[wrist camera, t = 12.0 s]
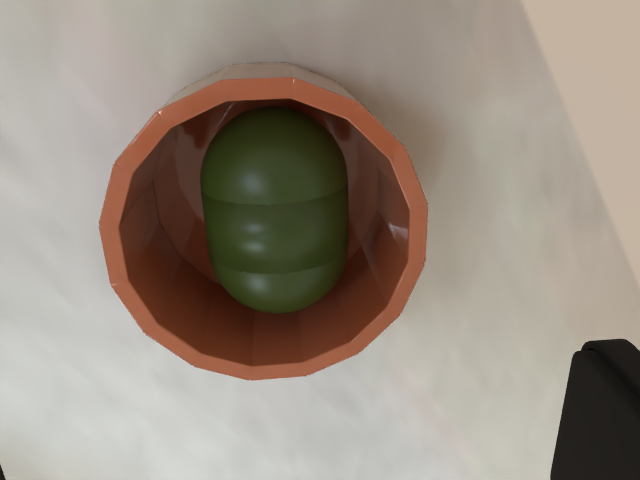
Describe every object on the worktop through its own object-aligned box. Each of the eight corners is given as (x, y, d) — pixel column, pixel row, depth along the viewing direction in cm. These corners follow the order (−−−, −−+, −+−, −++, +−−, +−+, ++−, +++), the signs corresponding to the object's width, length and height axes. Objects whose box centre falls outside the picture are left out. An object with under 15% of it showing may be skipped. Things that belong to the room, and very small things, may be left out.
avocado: (192, 100, 20) (189, 125, 16) (328, 92, 21) (366, 113, 16) (213, 283, 23) (217, 350, 18) (332, 269, 24) (365, 330, 19)
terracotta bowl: (123, 67, 20) (69, 86, 15) (390, 56, 21) (435, 70, 16) (161, 306, 24) (130, 390, 19) (387, 290, 25) (421, 367, 20)
